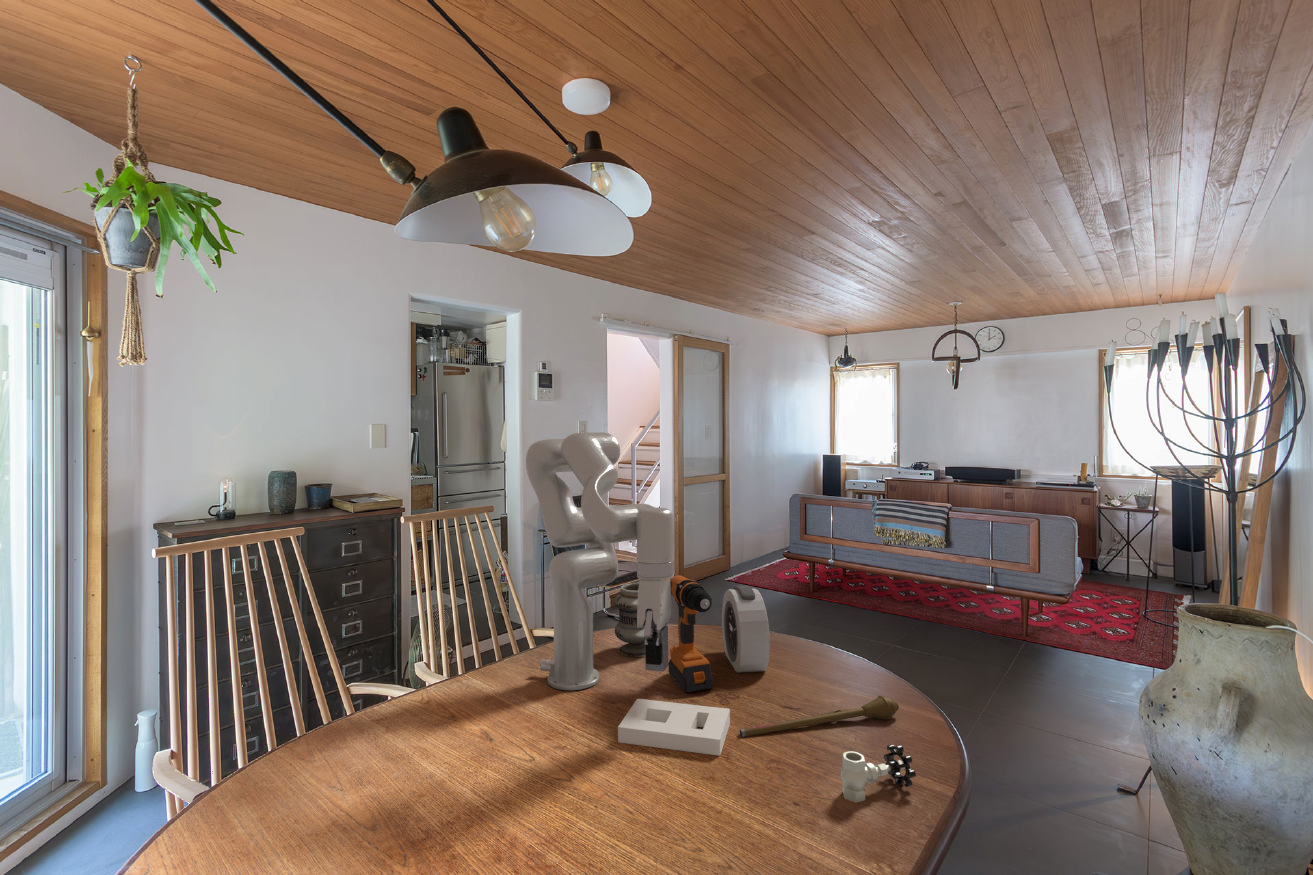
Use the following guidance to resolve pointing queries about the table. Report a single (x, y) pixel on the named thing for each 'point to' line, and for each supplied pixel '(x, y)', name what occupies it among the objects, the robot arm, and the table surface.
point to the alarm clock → (745, 629)
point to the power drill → (689, 637)
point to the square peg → (664, 651)
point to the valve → (873, 772)
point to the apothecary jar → (629, 622)
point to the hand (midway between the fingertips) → (656, 658)
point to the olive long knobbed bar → (831, 717)
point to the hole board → (675, 726)
